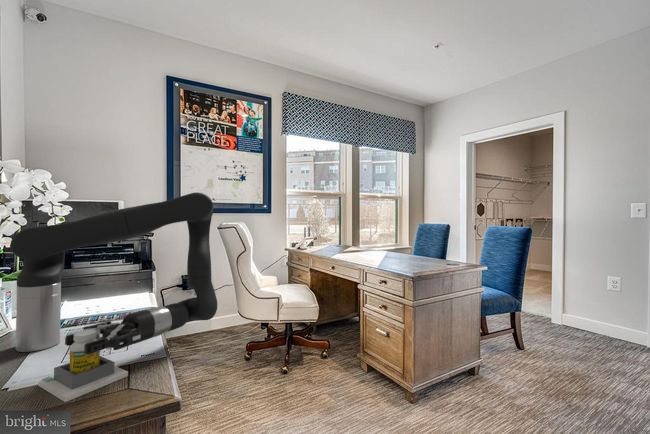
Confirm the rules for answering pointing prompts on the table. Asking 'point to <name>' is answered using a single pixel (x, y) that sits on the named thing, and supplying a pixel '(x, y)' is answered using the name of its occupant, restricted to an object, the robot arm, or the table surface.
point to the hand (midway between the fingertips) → (75, 345)
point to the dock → (81, 380)
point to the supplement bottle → (77, 355)
